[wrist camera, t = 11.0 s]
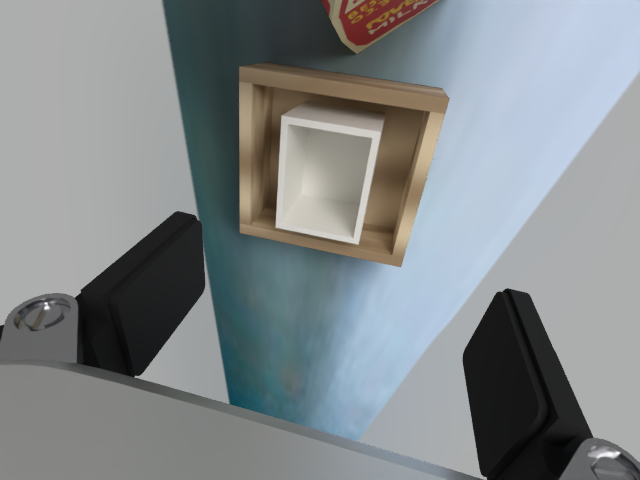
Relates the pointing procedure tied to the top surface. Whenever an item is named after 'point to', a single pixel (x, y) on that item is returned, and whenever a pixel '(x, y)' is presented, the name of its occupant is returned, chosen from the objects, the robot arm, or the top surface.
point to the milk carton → (370, 18)
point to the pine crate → (391, 166)
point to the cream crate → (327, 169)
